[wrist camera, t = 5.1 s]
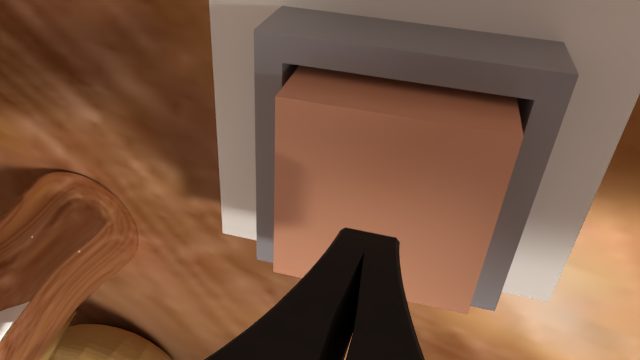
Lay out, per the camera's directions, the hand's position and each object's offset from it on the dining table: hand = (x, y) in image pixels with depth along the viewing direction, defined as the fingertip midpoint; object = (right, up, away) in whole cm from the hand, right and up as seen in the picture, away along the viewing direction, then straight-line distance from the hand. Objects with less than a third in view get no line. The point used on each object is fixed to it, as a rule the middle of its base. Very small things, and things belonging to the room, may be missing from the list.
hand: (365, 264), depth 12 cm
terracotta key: (+1, +3, +5) cm, 6 cm away
